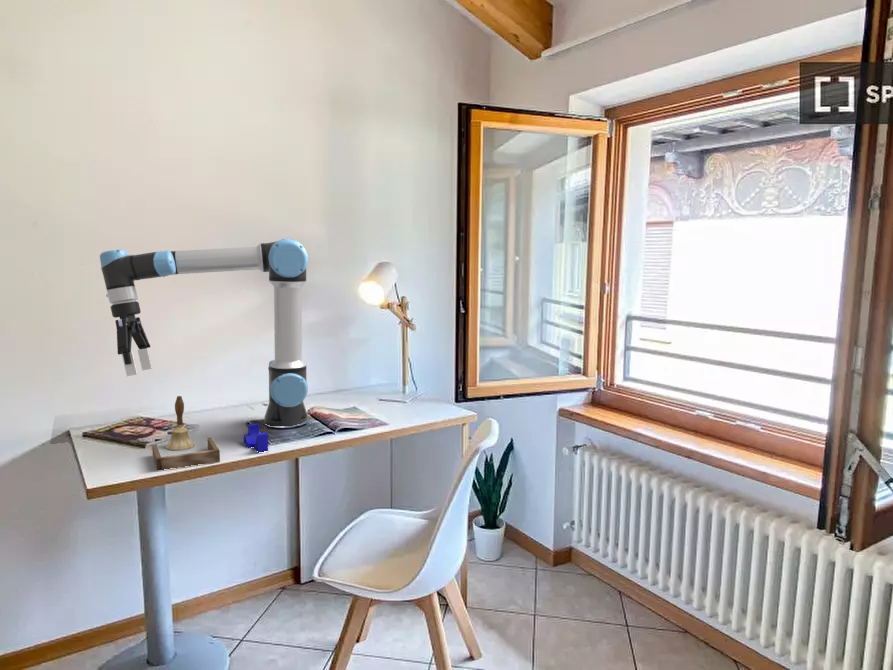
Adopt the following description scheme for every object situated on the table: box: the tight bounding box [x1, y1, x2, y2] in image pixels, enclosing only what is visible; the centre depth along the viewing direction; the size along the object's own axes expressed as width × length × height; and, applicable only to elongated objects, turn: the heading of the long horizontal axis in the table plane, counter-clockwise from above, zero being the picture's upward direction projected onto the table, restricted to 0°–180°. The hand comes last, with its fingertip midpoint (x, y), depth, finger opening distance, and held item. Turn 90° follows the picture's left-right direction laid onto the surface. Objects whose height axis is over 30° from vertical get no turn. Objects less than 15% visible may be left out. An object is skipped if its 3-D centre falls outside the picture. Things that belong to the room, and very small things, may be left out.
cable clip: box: [242, 423, 269, 454], centre depth 183 cm, size 12×4×6 cm, turn 32°
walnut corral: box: [151, 436, 221, 471], centre depth 171 cm, size 16×13×4 cm
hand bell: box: [165, 395, 195, 451], centre depth 181 cm, size 8×8×16 cm
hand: (140, 372), depth 176 cm, fingers open, 13 cm apart
